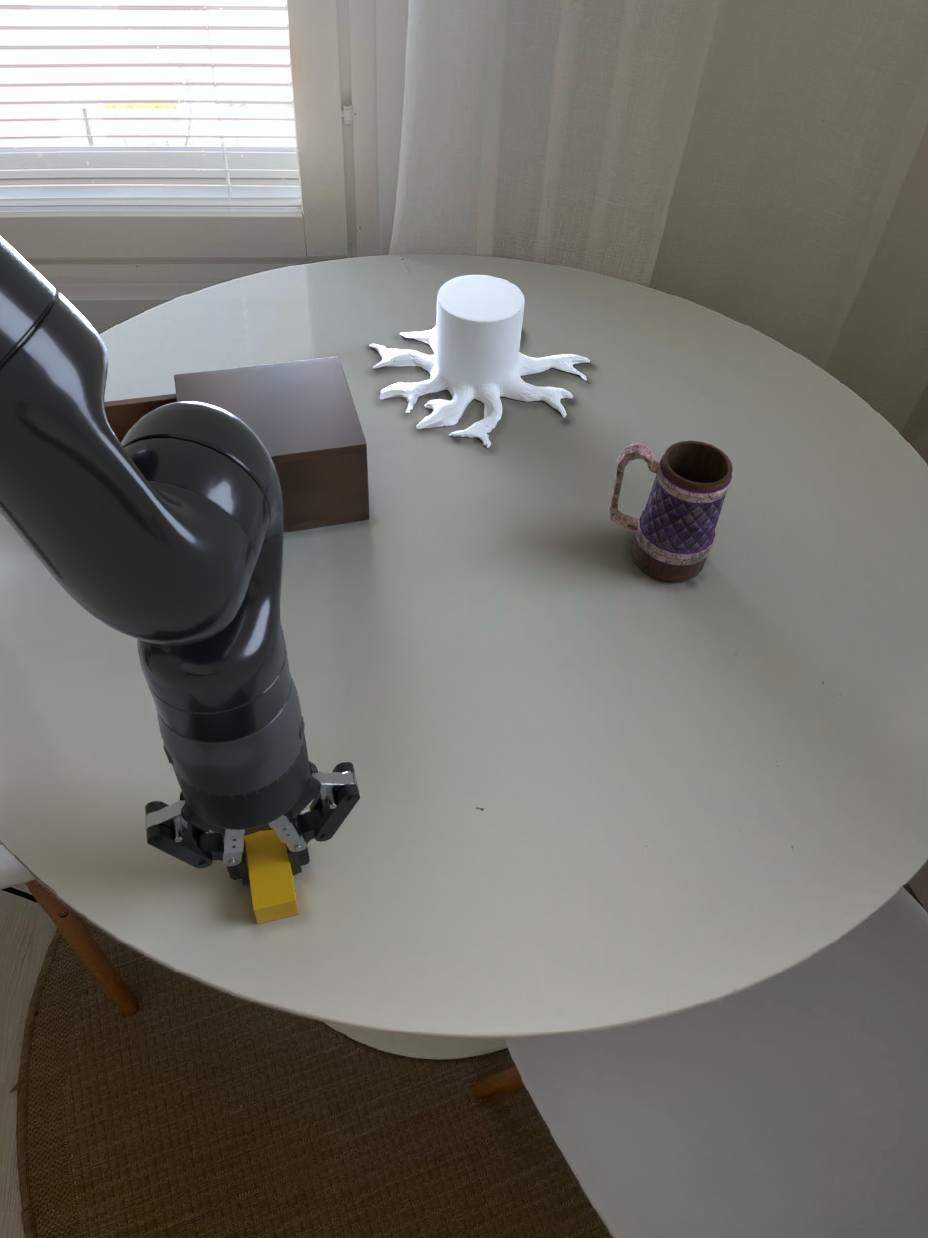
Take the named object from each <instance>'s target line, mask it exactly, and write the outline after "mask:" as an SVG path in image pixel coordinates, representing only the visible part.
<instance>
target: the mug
mask: <svg viewBox="0 0 928 1238" xmlns="http://www.w3.org/2000/svg"><path fill="white" fill-rule="evenodd" d="M635 460H642V461H643V462H645V463H646V464H647V467H648V471H649V472H651V473H654V474H656V475H655V477H654V479H653V483H652V486H651V489H650V492H649V495H648V498H647V501H646V504H645V507H644V509H643V510H642V512H641V514H640V516H639V518H636V517H634V516H630V515H626V514H624V513H623V512H622V511H620V510H619V498H620V494H621V489H622V485H623V481H624V480H623V479H624V475H625V468H626V467H627V466H628V464H629V463H630V462H633V461H635ZM733 470H734V469H733V462H732V461H731V459H730V458H729V456H728V455H727V454H726V453H725V452H724V451H723V450H721V449H720V448H718V447H717V446H715V445H713V444H710V443H708V442H704V441H700V440H699V441H698V440H683V441H678V442H676V443H673V444H671V445H670V446H669V447H667V448H666V449H665V452H664V453H663V455H662V457H661V459H660V461H658V460H656V459H655V454H654V451H653V450H652V449H651V448H649V446H647V445H645V444H643V443H641V442H635V443H632V444H629V445H627V446H626V447H625V448H624V449H623V450H622V451H621V453H620V454H619V455H618V457H617V460H616V468H615V477H614V481H613V486H612V490H611V495H610V499H609V502H608V503H609V504H608V513H609V518H610V521H611V522H613V523H614V524H615V525H617V526H618V527H621V528H623V529H626V530H627V531H630V532H633V533H635V537H634V539H633V543H632V545H631V555H632V557H633V560H634V562H635V563H636V565H637V566H639V568H640V569H641V570H642V571H644V572H645V573H647V574H648V575H650V576H651V577H653V578H656V579H659V580H661V581H666V582H685V581H688V580H691V579H694V578H695V577H697V576H698V575H699V574H700V573H701V572H702V571H703V569H704V566H705V563H706V561H707V557H708V556H709V555H710V552H711V551H712V548H713V545H714V541H715V539H716V529H717V525H718V522H719V519H720V516H721V512H722V510H723V505H724V502H725V499H726V495H727V493H728V490H729V488H730V487H731V483H732V479H733V472H734V471H733Z"/></svg>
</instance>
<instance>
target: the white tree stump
mask: <svg viewBox="0 0 928 1238" xmlns="http://www.w3.org/2000/svg"><path fill="white" fill-rule="evenodd" d="M525 299H526V298H525V296H524V293H523V292H522V291H521V288H520V287H519V286H517V285H516V284H515V283H513V282H510V281H509V280H507V279H503V278H502V277H497V276H493V275H486V274H477V273H476V274H466V275H459V276H456V277H453V278H451V279H450V280H447V281H445V282H444V283H443V284H442V285H441V287H439V288H438V290H437V293H436V320H435V325H434V327H433V328H432V329H428V330H421V331H419V330H415V331H401V332H400V333H399V335H400V336H402V337H403V338H405V339H414V340H417V341H419V342H422V343H424V344H427V345H429V347H430V348H431V350H432V351H433V354H426V353H424V352H421V351H418V350H415V349H405V348H403V349H402V348H394V347H390V348H388V347H387V346H386V345H380V344H377V343H371V344H369V345H368V346H369V347H370V348H372V349H374V350H375V351H377V352H378V354H379V357H380V358H381V361H379V362H378V363H377V364H375V365H373V366H372V367H371V368H372V369H373V370H374V369H375V370H376V369H381V368H386V367H419V368H422V369H423V370H425V371H427V372H428V374H429V376H430V377H429V379H426V380H421V381H415V382H403V381H401V380H399V381H397V382H396V383H391V384H390V385H388V386H386V387H384V388H382V389H381V390H380V394H379V400H385V399H388V398H392V397H393V398H394V397H395V398H396V397H401V398H404V399H405V400H406V402H408V404H407V407H406V408H405V409H406V410H405V411H404V413H406V414H407V413H409V414H411V410H414V405H415V404H416V403H417V400H418V399H419V397H422V396H425V395H428V394H432V393H433V394H435V393H438V392H443V391H446V390H447V391H448V392H449V394H450V396H451V398H452V399H451V400H448V399H444V398H443V399H442V398H438V399H431V400H427V402H426V403H425V404H423V406H424V408H425V409H431V410H432V411H431V413H430V414H429V415H426V416H425V417H423V418H422V419H421V420H420V421H419V422H418V424H416V426H415V429H416V430H420V429H421V430H422V429H432V428H440V427H441V428H442V427H444V426H445V427H449V426H450V427H452V426H455V425H456V424H458V422H459V419H461V418H462V416H463V415H464V412H466V411H465V410H466V409H467V407H468V405H469V404H470V403H471V402H473V400H477V401H479V402H481V403H482V404H483V405H484V406H483V408H484V409H483V418H481V420H478V421H475V422H473V423H472V425H469V426H468V427H467V428H465V429H459V430H456V431H452V432H450V433H449V434H448V437H449V436H450V437H454V438H455V437H461V438H464V437H466V438H467V437H468V438H469V439H473V438H477V439H479V440H480V441H482V444H481V445H483V446H485V447H486V449H488V448H490V447H491V445H492V442H491V440H490V435H489V434H488V433H491V432H492V430H493V429H495V428H497V427H496V426H497V425H498V422H499V421H500V420H501V419H502V417H503V416H502V415H503V408H504V407H503V406H504V405H503V404H502V400H501V397H503V398H507V399H510V400H511V399H512V400H517V401H522V402H526V403H528V402H529V403H531V402H538V401H540V402H542V401H543V402H545V403H546V404H548V405H549V406H550V407H552V408H553V409H555V410H557V411H558V412H559V413H560V415H561V417H562V418H566V417H567V415H568V414H567V411H566V408H565V407H564V405H563V404H562V402H561V400H562V399H573V398H574V395H573V394H572V392H570V391H569V390H567V389H565V388H563V387H555V386H552V385H551V386H550V385H549V386H537V385H534V384H531V383H529V382H526V381H525V380H523V378H521V377H523V376H529V375H535V374H540V373H543V372H545V371H548V370H550V369H555V370H559V371H563V372H566V373H569V374H570V373H571V374H573V375H578V376H580V378H581V379H583V380H584V381H586V382H588V379H587V375H586V374H583V373H582V372H581V371H578V369H577V368H575V367H574V365H576V364H577V365H578V364H589V363H591V360H590V358H588V357H586V356H582V355H578V354H575V353H564V354H555V355H547V356H543V357H534V356H533V357H532V356H529V355H526V354H524V353H522V352H520V347H521V339H522V331H523V321H524V311H525V301H526V300H525Z"/></svg>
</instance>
